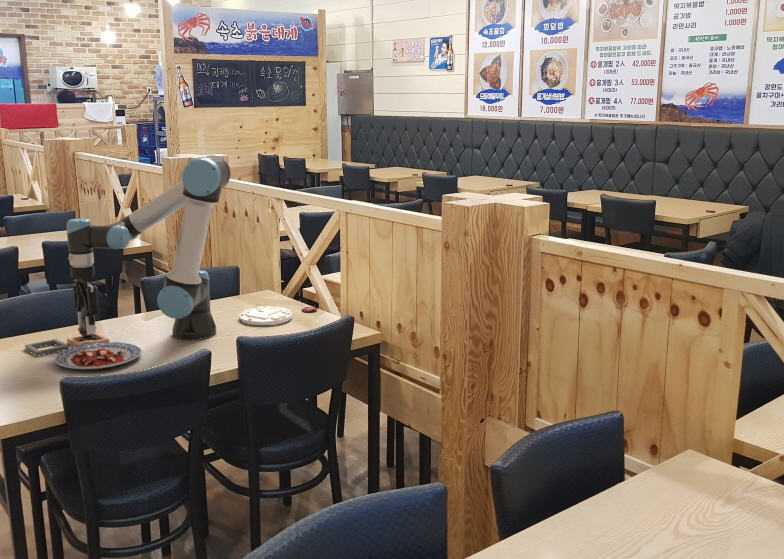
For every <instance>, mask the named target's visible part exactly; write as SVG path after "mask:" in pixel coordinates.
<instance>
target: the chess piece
mask: <svg viewBox="0 0 784 559" xmlns="http://www.w3.org/2000/svg"><path fill="white" fill-rule="evenodd" d="M84 306H85V305H84ZM81 315H82V317H81V319H82V326H81V327H80V328H79V327H78V328H77V331H78V333H79V335H80V336H81V335H82V337H81V338H80V340H82V341H84V342H85V341H87V342H89V341H94V340H97V339H96V336H94V335H93V334H90V335H87V327H86V317H85V315H87V313H86V308H85V307H83V308H82V309H81ZM95 328H96V329H97V327H96V326H95Z"/></svg>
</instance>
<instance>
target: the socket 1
mask: <svg viewBox="0 0 784 559" xmlns="http://www.w3.org/2000/svg"><path fill="white" fill-rule="evenodd" d="M51 344H54V345H55V344H56V345H57V346H56V345H55V346H54V347H48V348H45V349H38V348H35V347H39V348H41V347H40V346H44V347H46V346H45V345H49V346H52V345H51ZM24 347H25V350H26V349H27V350H26V351H28V350H29V351H30V352H29V351H28V352H29V353H31V352H32V353H33V354H32V353H31V354H32V355H34V354H35V355H36V356H35V355H34V356H35V357H39V356H38V355H42V356H44V355H43V354H47V355H49V354H48V353H51V354H54V353H53V352H56V353H59V352H58V351H61V352H63V351H62V350H68V349H70V348H69V345H68V344H66V343H65V342H63V341H61V340H59V339H57V338H53V339H48V340H44V341H39V342H33V343H27V344H24Z"/></svg>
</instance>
